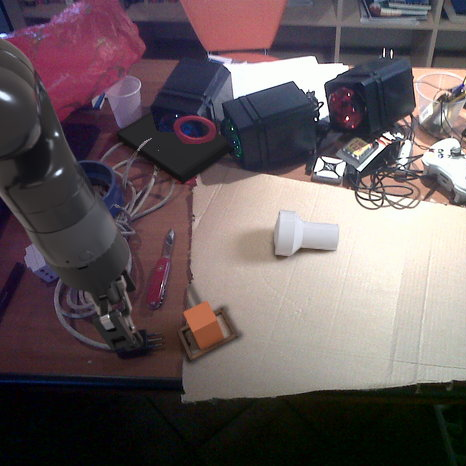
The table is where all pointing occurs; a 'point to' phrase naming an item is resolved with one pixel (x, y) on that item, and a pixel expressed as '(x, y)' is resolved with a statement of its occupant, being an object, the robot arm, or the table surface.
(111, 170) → the blue plastic ring
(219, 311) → the wooden frame tray
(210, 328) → the block
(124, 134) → the external hard drive
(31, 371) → the table surface
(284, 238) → the spotlight
